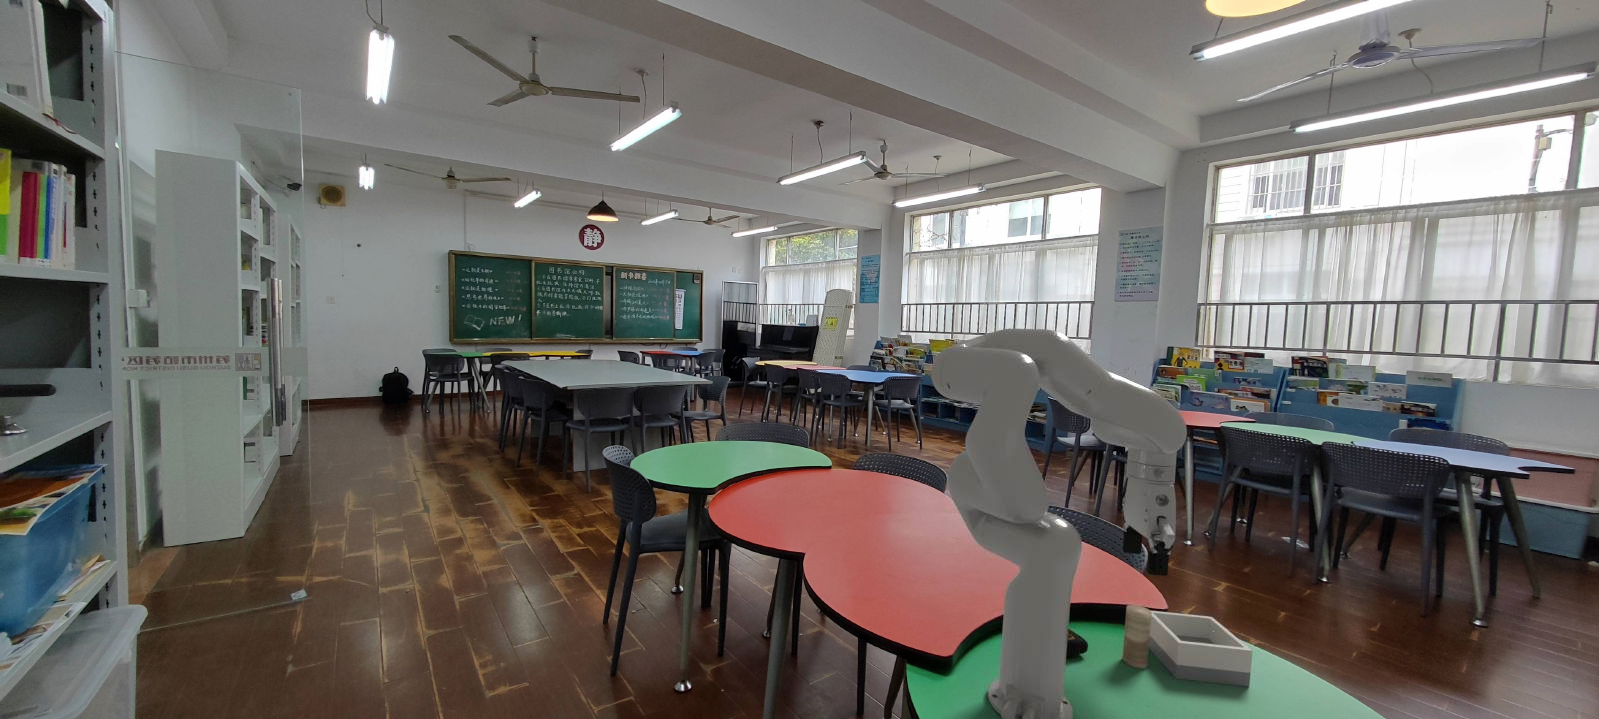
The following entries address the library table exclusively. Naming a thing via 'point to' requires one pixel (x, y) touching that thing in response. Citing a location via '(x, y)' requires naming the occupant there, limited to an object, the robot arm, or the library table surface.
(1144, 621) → the peg
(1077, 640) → the tape measure
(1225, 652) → the bore box
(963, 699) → the library table surface
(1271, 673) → the library table surface
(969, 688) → the library table surface
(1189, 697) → the library table surface
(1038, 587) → the robot arm
